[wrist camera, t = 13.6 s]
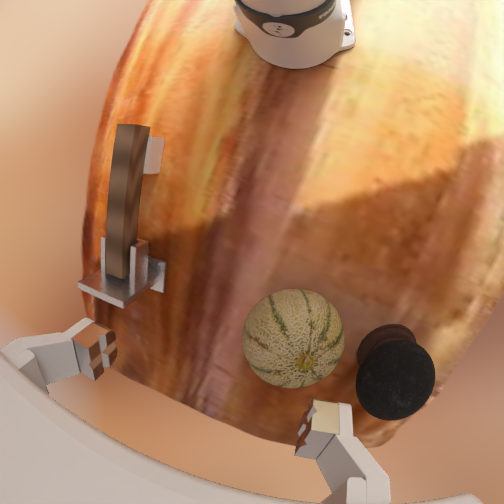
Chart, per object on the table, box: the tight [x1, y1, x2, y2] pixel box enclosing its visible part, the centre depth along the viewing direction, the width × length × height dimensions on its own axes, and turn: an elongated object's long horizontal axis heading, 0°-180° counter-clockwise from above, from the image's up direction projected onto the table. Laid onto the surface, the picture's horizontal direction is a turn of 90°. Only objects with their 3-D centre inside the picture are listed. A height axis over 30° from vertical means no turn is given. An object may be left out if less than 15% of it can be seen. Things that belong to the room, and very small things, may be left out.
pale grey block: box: [143, 136, 165, 174], centre depth 42 cm, size 6×5×4 cm
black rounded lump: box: [356, 324, 435, 421], centre depth 37 cm, size 13×13×15 cm
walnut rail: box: [106, 124, 150, 279], centre depth 40 cm, size 24×4×4 cm, turn 169°
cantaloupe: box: [242, 288, 345, 388], centre depth 39 cm, size 15×15×15 cm
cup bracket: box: [78, 235, 167, 309], centre depth 44 cm, size 10×12×12 cm
